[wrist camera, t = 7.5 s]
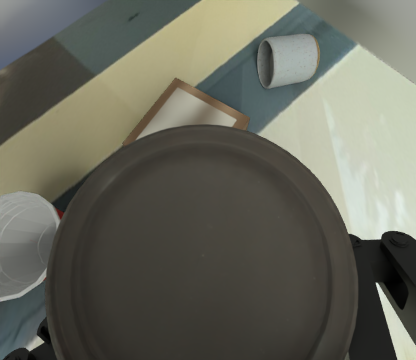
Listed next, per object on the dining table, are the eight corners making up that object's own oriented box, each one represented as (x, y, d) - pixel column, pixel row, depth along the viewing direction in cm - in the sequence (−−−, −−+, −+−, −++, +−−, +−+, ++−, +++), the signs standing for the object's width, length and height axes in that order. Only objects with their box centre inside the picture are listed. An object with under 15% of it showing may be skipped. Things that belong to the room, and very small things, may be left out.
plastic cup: (33, 224, 36) (-53, 213, 24) (101, 197, 36) (49, 175, 25) (47, 296, 33) (-43, 323, 21) (120, 265, 34) (71, 274, 22)
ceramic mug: (309, 88, 41) (330, 53, 34) (265, 98, 41) (276, 65, 33) (289, 44, 44) (304, 2, 37) (248, 52, 44) (255, 13, 37)
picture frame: (131, 154, 38) (121, 143, 34) (179, 93, 41) (175, 76, 37) (201, 198, 36) (199, 192, 32) (246, 130, 39) (250, 116, 35)
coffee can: (154, 200, 23) (64, 128, 9) (259, 195, 22) (327, 116, 9) (150, 318, 20) (11, 473, 6) (271, 314, 20) (401, 463, 6)
